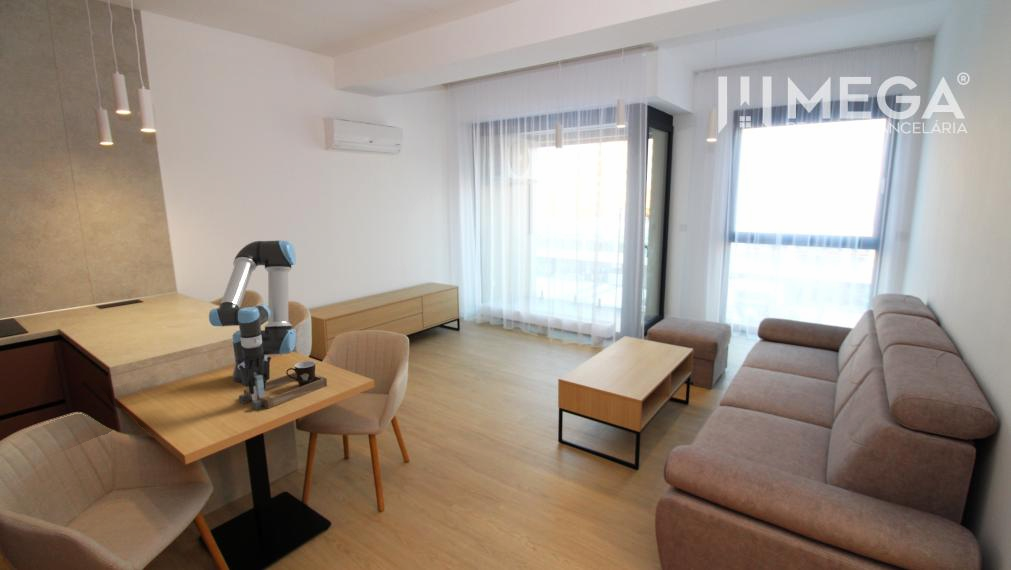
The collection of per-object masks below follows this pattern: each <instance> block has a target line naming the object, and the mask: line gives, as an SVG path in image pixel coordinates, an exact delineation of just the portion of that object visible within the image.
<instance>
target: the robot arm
mask: <svg viewBox="0 0 1011 570" xmlns="http://www.w3.org/2000/svg"><path fill="white" fill-rule="evenodd" d="M296 255H297V254H296V251H295V248H294V245H293V244H292V242H290V241H289V240H282V239H281V240H256V241H252V242H249V243H248V244H246V245H244V247H242V248H240V250H239V251H238V252H237V254H236V255H235V257H234V260H233V269H232V272H231V275H230V277H229V280H228V283H227V285H226V287H225V291H224V294H223V297H222V299H221V302H220V304H219V307H218V308H212V309H210V311H209V314H208V320H209V323H210V325H211V326H213V327H221V328H223V327H232V326H233V327H235V326H237V327H238V328H239V329H238V330H237V331H235V332H233V334H232V346H233V347H232V348H233V354H234V362H235V365H234V368H233V372H232V379H233V381H234V382H237V383H242V386H243V387H245V388H249V393H250V394H252V400H254V401H255V400H257V392H256V386H254V373H257V374H260V375H262V376H263V384H264V390H265V389H266V386H265V383H266V382H268V380H269V381H270V374H271V373H270V372H271V371H270V366H271V365H270V362H271V359H272V357H271V356H272V355H273V356H274V355H288V354H291V353H292V352H293V351H294V349H295V346H296V343H297V342H296V341H297V331H296V329H295V328H293V325H292V324H291V323H290V322H289V272H290V271H291V270H292V266H293V265H295V264H296V261H297V258H296V257H297V256H296ZM259 266H264V269H265V270H266V272H267V273H268V276H267V282H268V283H267V284H268V285H267V290H268V292H267V295H268V296H267V299H268V303H267V305H268V306H267V305H264V304H259V305H255V306H248V307H241V305H242V303H243V300H244V296H245V294H246V290H247V288H248V285H249V282H250V279H251V277H252V274H253V272H254V271H255V270H256V269H257V267H259ZM266 322H267V323H266ZM265 323H266V325H264V330H263V329H262V327H261V326H262V325H263V324H265Z"/></svg>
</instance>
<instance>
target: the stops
mask: <svg viewBox="0 0 1011 570" xmlns="http://www.w3.org/2000/svg"><path fill="white" fill-rule="evenodd" d="M238 398H239V403H241V404H242V405H245V404H247V403H249V399H248V396H247V395H245V394H244V393H242V394H240V395H239V396H238ZM251 404H252V405H251V406H252V409H253V410H254V411H259V410H260V409H262V405H261V402H260V401H258V400H255V401H251Z"/></svg>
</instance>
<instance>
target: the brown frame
mask: <svg viewBox="0 0 1011 570" xmlns="http://www.w3.org/2000/svg"><path fill="white" fill-rule="evenodd" d="M288 374H289V375H290V376H292V377H294V378H296V379H298V378H297V374H296V372H295V371H294V372H292V373H288ZM295 381H296V380H295V379H293V378H291V377H289V376H288V375H287V374H286V375H283V376H280V377H277V378H275V379H272V380H269V381H268V380H267V381H266V383H265V386H266V389H265V390H264V384H263V376H262V375H260V374H257V373H254V386H256V392H257V400H258V401H260V402H261V407H264V408H266V409H271V408H274V407H276V406H278V405H281V404H283V403H286V402H289V401H291V400H294V399H296V398H299V397H301V396H304V395H307V394H309V393H311V392H315V391H317V390H319V389H321V388H324V387H326V386H328V383H327V382H328V381H327V377H324V376H322V375H319V374H316V373H315V381H314V382H312V383H309V384H306V385H304V386H301V387H300V386H298V387H296V388H293V389H291V390H288V391H286V392H283V393H281V394H278V395H276V396H273V397H272V396H271V397H270V396H268V395H266V394H265V393H266V392H267V391H269V390H273V389H275V388H279V387H281V386H284V385H287V384H289V383H292V382H295ZM243 394H245V395H247V396H248V401H251V402H252V401H254V400H252V394H250V393H249V387H247V388H245V389H243Z"/></svg>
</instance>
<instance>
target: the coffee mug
mask: <svg viewBox="0 0 1011 570" xmlns="http://www.w3.org/2000/svg"><path fill="white" fill-rule="evenodd" d="M290 370H292V371H294V372H296V374H297V378H298V379H296V378H294V377H292V376H290V375H289V374H290V373H288V371H290ZM315 374H316V362H315V361H314V360H305V361H300V362H297V363H295V364H294V367H290V368H288V369H287V370H286V375H288V376H289V377H291V378H293V379H295V381H297V382H298V387H301V386H304V385H306V384H309V383H312V382H314V381H315Z"/></svg>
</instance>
